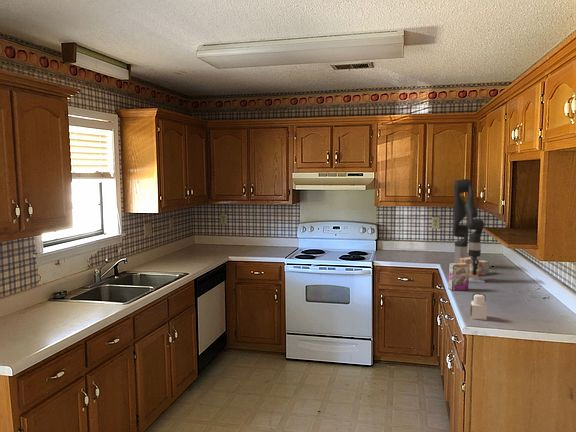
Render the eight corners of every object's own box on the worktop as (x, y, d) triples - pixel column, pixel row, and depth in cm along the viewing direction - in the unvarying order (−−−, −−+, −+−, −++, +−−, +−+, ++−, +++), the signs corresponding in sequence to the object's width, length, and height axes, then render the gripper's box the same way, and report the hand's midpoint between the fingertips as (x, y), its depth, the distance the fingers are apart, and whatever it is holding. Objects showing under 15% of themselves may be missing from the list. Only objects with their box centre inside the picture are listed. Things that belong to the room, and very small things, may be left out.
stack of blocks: (482, 272, 347) (483, 256, 346) (488, 274, 341) (489, 257, 340) (458, 274, 340) (458, 257, 339) (464, 276, 334) (465, 259, 333)
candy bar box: (452, 291, 294) (452, 264, 292) (448, 289, 299) (448, 263, 297) (468, 290, 296) (469, 264, 294) (464, 288, 300) (465, 262, 299)
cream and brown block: (469, 275, 323) (469, 263, 322) (477, 275, 322) (477, 264, 321) (470, 276, 318) (470, 265, 318) (478, 277, 317) (478, 265, 316)
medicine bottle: (470, 314, 245) (471, 291, 243) (485, 316, 243) (486, 292, 241) (471, 319, 238) (472, 295, 237) (486, 320, 236) (487, 296, 235)
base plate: (463, 278, 328) (463, 276, 327) (481, 279, 325) (481, 277, 325) (465, 282, 316) (465, 280, 316) (484, 283, 313) (485, 281, 313)
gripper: (467, 247, 326) (466, 271, 328) (470, 250, 312) (469, 276, 314) (478, 247, 325) (477, 272, 326) (482, 250, 311) (481, 276, 312)
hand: (473, 273), depth 320 cm, fingers closed on cream and brown block, 5 cm apart
